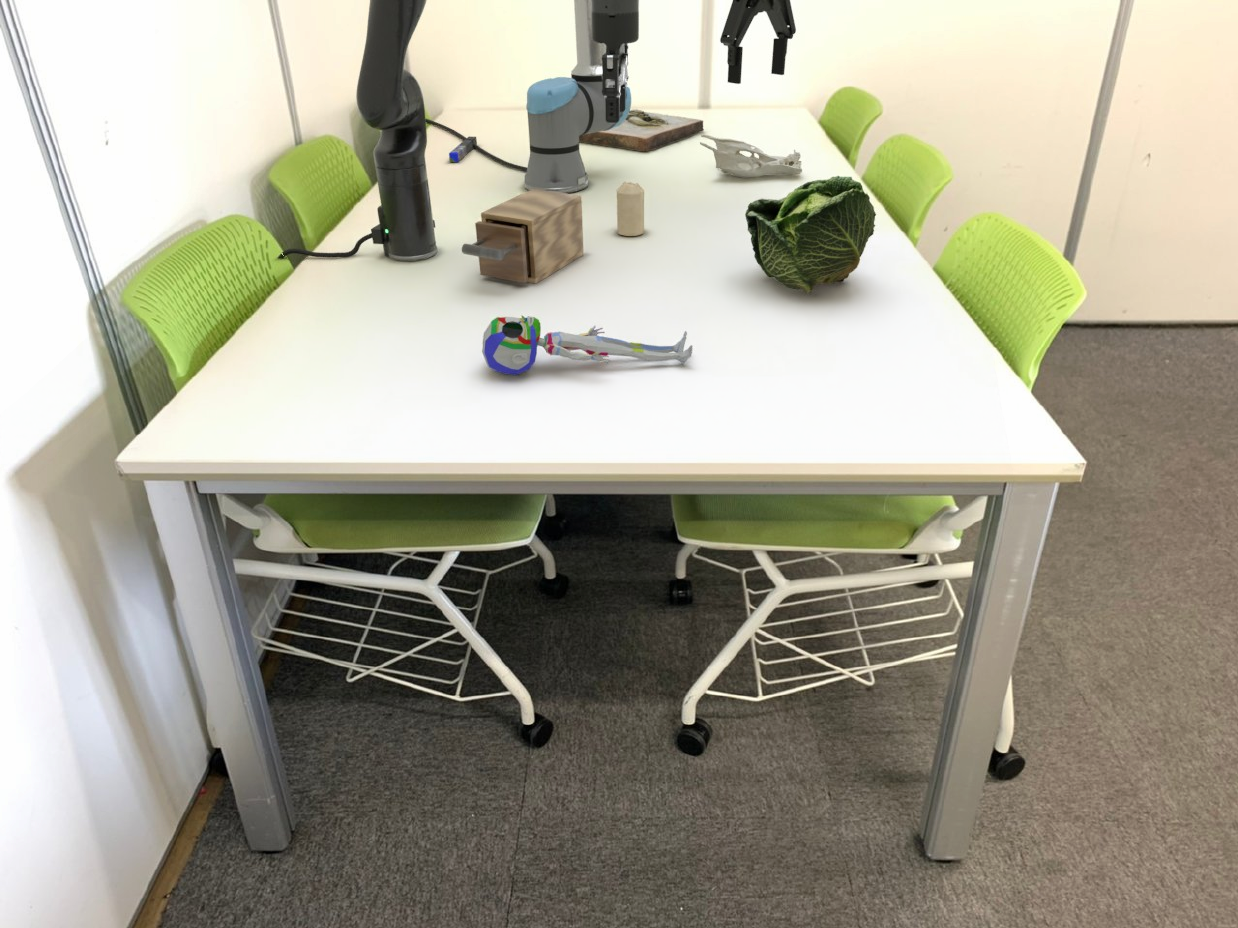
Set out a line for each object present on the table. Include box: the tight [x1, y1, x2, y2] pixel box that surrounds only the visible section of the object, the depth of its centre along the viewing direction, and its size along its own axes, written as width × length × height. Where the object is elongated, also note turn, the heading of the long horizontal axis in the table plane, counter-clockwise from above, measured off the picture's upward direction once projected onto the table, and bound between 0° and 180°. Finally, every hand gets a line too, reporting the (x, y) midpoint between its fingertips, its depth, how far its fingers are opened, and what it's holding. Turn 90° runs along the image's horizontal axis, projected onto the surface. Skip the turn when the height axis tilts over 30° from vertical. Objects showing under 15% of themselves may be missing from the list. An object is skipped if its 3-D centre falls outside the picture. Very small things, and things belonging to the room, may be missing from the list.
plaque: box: [579, 108, 705, 152], centre depth 257 cm, size 30×7×30 cm
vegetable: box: [744, 175, 877, 294], centre depth 154 cm, size 20×19×20 cm
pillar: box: [448, 136, 478, 163], centre depth 243 cm, size 2×2×20 cm
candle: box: [616, 181, 645, 237], centre depth 181 cm, size 6×6×10 cm
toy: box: [481, 315, 694, 376], centre depth 131 cm, size 10×8×30 cm
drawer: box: [461, 219, 531, 284], centre depth 162 cm, size 22×10×10 cm, turn 152°
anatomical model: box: [699, 133, 803, 178], centre depth 218 cm, size 15×9×25 cm
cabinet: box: [480, 189, 585, 284], centre depth 166 cm, size 17×11×11 cm, turn 152°
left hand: (615, 116), depth 150 cm, fingers open, 8 cm apart
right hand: (756, 78), depth 178 cm, fingers open, 13 cm apart
